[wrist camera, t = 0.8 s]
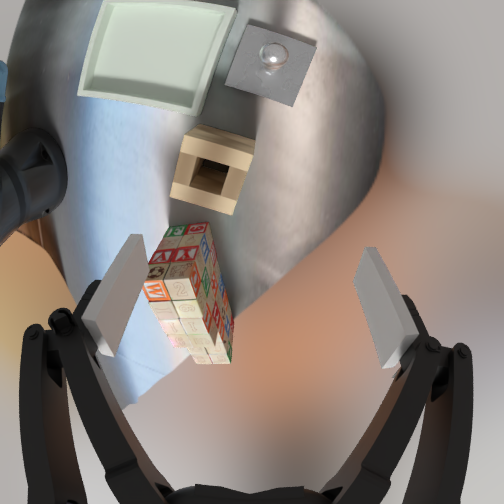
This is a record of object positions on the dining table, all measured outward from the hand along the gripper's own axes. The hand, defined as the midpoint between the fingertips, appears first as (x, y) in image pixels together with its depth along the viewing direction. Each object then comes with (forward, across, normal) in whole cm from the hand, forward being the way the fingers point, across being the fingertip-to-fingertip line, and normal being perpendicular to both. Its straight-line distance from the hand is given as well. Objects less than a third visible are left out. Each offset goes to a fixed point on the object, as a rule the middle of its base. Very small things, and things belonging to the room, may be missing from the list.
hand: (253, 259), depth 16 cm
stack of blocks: (+20, -7, -20) cm, 30 cm away
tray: (+21, -13, +14) cm, 28 cm away
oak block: (+20, -4, 0) cm, 21 cm away
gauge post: (+20, +1, +12) cm, 23 cm away
